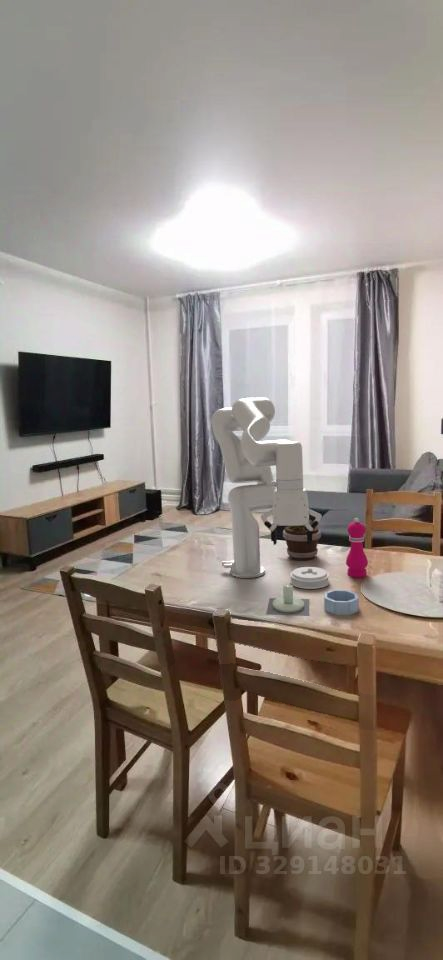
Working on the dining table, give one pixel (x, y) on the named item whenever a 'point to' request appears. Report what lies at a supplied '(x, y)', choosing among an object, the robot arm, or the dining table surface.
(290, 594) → the cover
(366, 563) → the pepper mill
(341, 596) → the bowl
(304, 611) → the mat
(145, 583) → the dining table surface
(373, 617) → the dining table surface
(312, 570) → the lid
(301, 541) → the flowerpot
